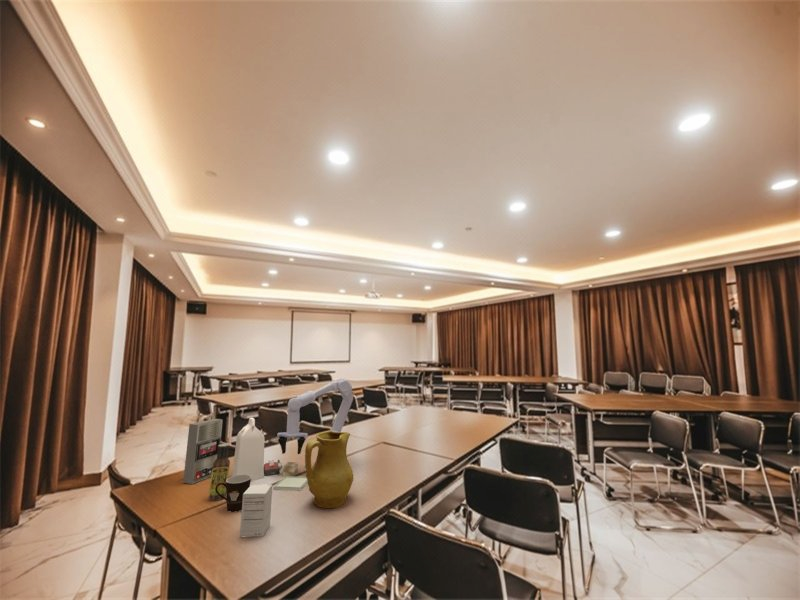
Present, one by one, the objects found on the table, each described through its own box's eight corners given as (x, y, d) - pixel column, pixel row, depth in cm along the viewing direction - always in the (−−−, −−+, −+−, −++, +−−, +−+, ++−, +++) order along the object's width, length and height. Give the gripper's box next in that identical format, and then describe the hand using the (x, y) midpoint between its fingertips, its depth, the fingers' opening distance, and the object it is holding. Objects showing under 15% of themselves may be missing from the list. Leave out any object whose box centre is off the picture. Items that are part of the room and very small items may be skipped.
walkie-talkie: (283, 475, 153) (280, 462, 170) (284, 465, 153) (281, 454, 171) (264, 478, 149) (262, 465, 167) (264, 468, 150) (263, 456, 168)
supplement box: (247, 525, 106) (250, 484, 109) (270, 524, 107) (273, 483, 109) (238, 537, 99) (242, 493, 101) (263, 536, 100) (266, 492, 102)
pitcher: (353, 509, 117) (355, 437, 122) (300, 513, 114) (304, 439, 119) (352, 490, 134) (354, 427, 138) (306, 493, 131) (309, 429, 135)
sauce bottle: (207, 502, 123) (212, 447, 127) (209, 496, 129) (214, 443, 132) (226, 499, 126) (230, 445, 129) (227, 493, 131) (232, 442, 135)
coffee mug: (254, 504, 121) (256, 476, 123) (236, 515, 113) (238, 484, 115) (230, 500, 125) (233, 472, 127) (211, 510, 117) (214, 480, 119)
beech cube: (297, 473, 154) (298, 462, 155) (293, 477, 149) (293, 465, 150) (287, 473, 155) (288, 462, 156) (282, 476, 150) (283, 465, 151)
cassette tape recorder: (192, 484, 140) (198, 425, 145) (182, 483, 142) (188, 424, 147) (219, 474, 153) (224, 419, 158) (209, 472, 155) (214, 418, 159)
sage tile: (311, 479, 146) (311, 477, 146) (300, 490, 134) (300, 487, 135) (285, 478, 147) (285, 476, 147) (273, 489, 135) (273, 486, 136)
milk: (263, 478, 148) (267, 419, 153) (235, 483, 142) (241, 422, 146) (258, 470, 158) (262, 415, 162) (232, 475, 151) (236, 417, 156)
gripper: (275, 425, 153) (273, 455, 150) (304, 425, 152) (302, 456, 149) (281, 422, 160) (279, 451, 157) (309, 422, 158) (308, 452, 156)
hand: (291, 453), depth 154 cm, fingers open, 7 cm apart
